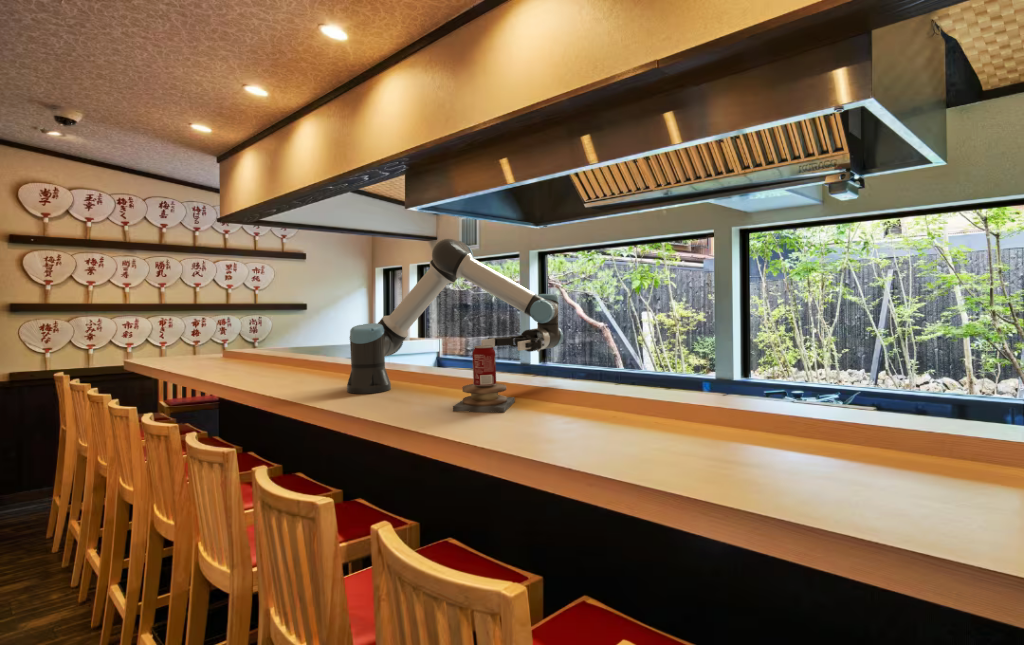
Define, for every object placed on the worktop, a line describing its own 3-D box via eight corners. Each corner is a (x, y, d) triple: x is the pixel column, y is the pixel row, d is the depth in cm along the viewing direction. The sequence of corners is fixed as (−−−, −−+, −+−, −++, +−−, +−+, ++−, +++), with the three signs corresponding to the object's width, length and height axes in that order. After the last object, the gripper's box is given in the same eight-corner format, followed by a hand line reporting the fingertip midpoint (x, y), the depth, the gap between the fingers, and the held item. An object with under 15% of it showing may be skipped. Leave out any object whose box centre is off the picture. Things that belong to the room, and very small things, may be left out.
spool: (453, 411, 161) (452, 390, 161) (467, 401, 176) (467, 382, 175) (504, 412, 158) (503, 391, 158) (514, 402, 173) (514, 382, 172)
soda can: (495, 388, 163) (494, 346, 162) (472, 388, 163) (471, 347, 162) (496, 384, 170) (495, 344, 169) (474, 384, 170) (473, 345, 169)
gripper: (566, 352, 187) (534, 359, 169) (504, 348, 200) (468, 355, 182) (566, 330, 186) (534, 334, 168) (503, 327, 200) (467, 331, 182)
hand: (500, 345), depth 175 cm, fingers open, 13 cm apart
